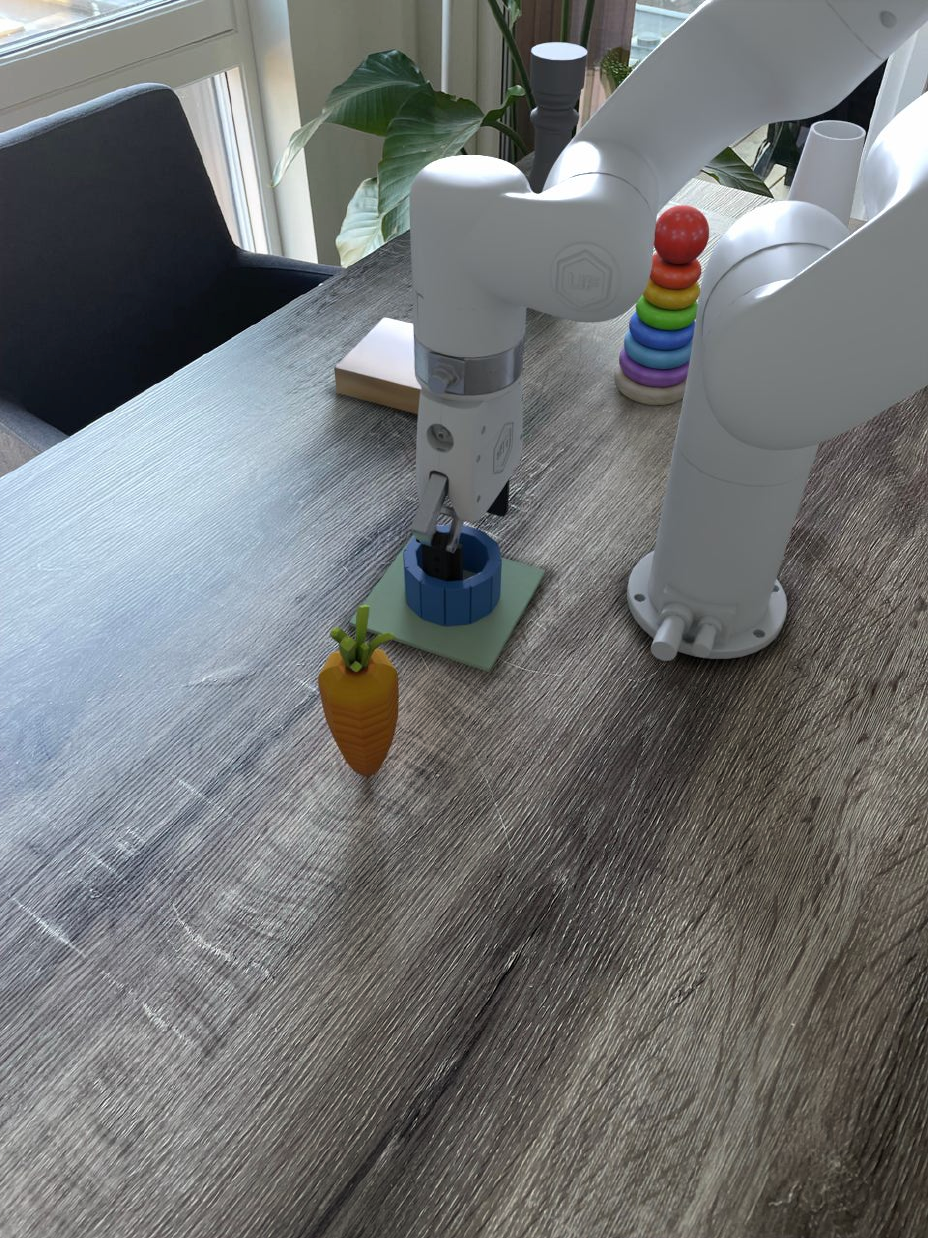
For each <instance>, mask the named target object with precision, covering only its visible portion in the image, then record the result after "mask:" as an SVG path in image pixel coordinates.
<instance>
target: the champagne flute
mask: <svg viewBox="0 0 928 1238" xmlns="http://www.w3.org/2000/svg"><path fill="white" fill-rule="evenodd" d="M866 135H867V132H866V130H865V128H863V127H862V126H860V125H858V124H855V123H852V122H848V121H844V120H843V121H842V120H834V119H833V120H831V119H829V120H827V119H826V120H822V121H821V120H820V121H816V122H814V123H812V124H811V126H810V129H809V132H808V135H807V138H806V141H805V143H804V146H803V150H802V151H801V155H800V158H799V161H798V165H797V167H796V171H795V174H794V176H793V180H792V183H791V185H790V189H789V191H788V195H787V197H786V200H785V201H801V202H807V203H810V204H814V205H817V206H819V207H821V208H823V209H825V210H827V211H828V212H830V213H831V214H833V215H834V216H835V217H836V218H838V219H839V220H840V221H841V222H842V223H843V224H844V225H845V227H846V228H847V229H848V230H849V225H850V221H851V220H850V219H851V215H852V209H853V203H854V197H855V192H856V187H857V183H858V177H859V172H860V166H861V161H862V156H863V151H864V145H865V139H866Z"/></svg>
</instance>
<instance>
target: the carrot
mask: <svg viewBox="0 0 928 1238" xmlns="http://www.w3.org/2000/svg"><path fill="white" fill-rule="evenodd" d="M361 605H362V604H361ZM361 605H358V606H357V610H356V612H357V616H356V628H355V637H354V638H352V637H351V636H349V635H348V634H347V633H346V631H344V630H343V629H342V628H341V627H339V626H336V627H333V628H332V629H331V630H330V633H329V637H330V638H332V640H334V641H335V642H337V643H338V650H337V651H334V652H331V653H330V654H329V655H328V658H326V661H325V663H324V665H323V666H322V669H320V670H321V671H320V672H319V673H318V676H317V677H318V678H317V683H318V684H317V685H318V690H319V697H320V700H321V701H320V702H321V705H322V709H323V713H324V714H323V715H324V718H325V721H326V725H327V726H328V729H329V731H330V734H331V736H332V737H333V741H334V742H335V744H336V747H337V749H338V750H339V751H340V753H341V756H342V757H343V759H344V761H345V762H346V764H347V765H348V766H349V767H350V768H351V770H353V771H354V772H355V773H357V774H358V775H360V776H362V777H365V778H369V777H372V776H374V775H376V774H377V773H378V771H380V769H381V768H382V766H383V764H384V762H385V761H386V758H387V756H388V754H389V752H390V750H391V747H392V744H393V742H394V737H395V734H396V729H397V725H398V721H399V711H400V709H399V707H400V686H399V685H400V683H399V682H400V681H399V673H398V671H397V670H396V668H395V666H394V665H393V663H392V661H391V660H390V659H389V657H388V655H387V653H386V652H385V651H384V649H380V648H379V647H380V646H381V645H383V644H384V643H388V642H390V641H394V640H393V639H395V638H396V637H395V636H394V634H393V633H392V632H387V633H383V634H381V635H376V636H375V637H374V638H373V639H372V640H371V641H370V642H369V643H366V637H367V624H368V618H369V606H368V605H362V606H361ZM354 639H355V640H354Z"/></svg>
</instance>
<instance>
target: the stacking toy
mask: <svg viewBox="0 0 928 1238" xmlns="http://www.w3.org/2000/svg"><path fill="white" fill-rule="evenodd" d="M709 239H710V226H709V223H708V220H707V218H706V216H705V215H704V214H703V213H702V212H701V210H700V209H698V208H696V207H694V206H691V205H687V204H681V205H675V206H672V207H670V208H668V209H666V210H665V211H664V212H662V213H661V214H660V216H659V217H657V219H656V228H655V240H654V250H655V252H656V253H653V260H652V268H651V273H650V277H649V280H648V283H647V286H646V289H645V290H644V292H643V294H642V296H641V297H640V299H639V300H638V301H637V303H636V304H635V311H634V313H632V315H631V317H630V319H629V321H628V330H627V331H626V333H625V334H624V338H623V347H622V348H621V350H620V353H619V356H618V364H617V366H616V367H615V370H614V374H613V380H614V383H615V386H616V388H617V389H618V391H619V392H620V393H621V394H622V395H624V396H625V397H627V398H628V399H630V400H631V401H635V402H637V403H641V404H644V405H649V406H650V405H651V406H664V405H669V404H673V403H676V402H679V401H680V400H683V398H684V393H685V387H686V381H687V375H688V369H689V363H690V356H691V349H692V343H693V336H694V329H695V322H696V314H697V306H698V299H699V294H700V288H701V285H700V284H699V282H698V281H699V280H700V277H701V276H702V265H701V263H700V261H699V260H698V259H697V258H699V257H700V256H701V255H702V254H703V252H704V251H705V249H706V247H707V245H708V242H709Z"/></svg>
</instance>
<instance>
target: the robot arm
mask: <svg viewBox="0 0 928 1238" xmlns="http://www.w3.org/2000/svg"><path fill="white" fill-rule="evenodd" d="M927 22H928V0H705V1H703V2H702V3H701V4H700V5H699V6H698V7H697V8H696V9H695V10H694V11H693V12H692V13H691V14H690V15H689V17H688V18H687V19H685V21H684V22H683V23H681V24H680V25H679V26H678V27H677V28H676V29H675V30H674V31H672V32H671V33H670V34H669V35H668V36H667V37H665V39H664V40H662V41H661V42H660V43H659V44H658V45H657V46H656V47H655V48H654V49H653V50H652V51H651V52H650V53H649V54H648V55H647V56H646V57H644V59H642V61H641V62H640V63H639V64H638V65H636V67H635V68H634V69H633V70H632V71H631V72H630V74H629V75H627V77H626V78H625V79H623V81H622V82H621V83H620V84H619V86H617V88H616V89H614V91H613V92H612V94H611V95H610V96H608V98H607V99H606V100H605V101H604V102H603V104H602V105H601V106H600V107H599V108H598V109H597V110H596V111H595V112H594V114H593V115H592V116H591V117H590V118H589V119H588V120H587V121H586V123H585V124H584V125H583V126H582V127H581V128H580V129H579V131H577V133H576V134H574V137H573V138H571V141H570V143H569V144H568V145H567V146H566V148H565V149H564V150H563V151H562V153H561V154H560V156H559V157H558V159H557V160H556V162H555V163H554V165H553V167H552V169H551V171H550V173H549V175H548V177H547V180H546V182H545V185H544V188H543V191H542V193H541V194H535V193H533V192H532V191H531V188H530V185H529V182H528V178H527V177H526V176H525V174H524V173H523V171H521V170H520V169H519V168H518V167H517V166H515V165H513V164H512V163H511V162H508V161H505V160H503V159H500V158H496V157H492V156H485V155H475V154H474V155H473V154H472V155H470V154H469V155H467V154H466V155H455V156H449V157H445V158H439V159H437V160H435V161H433V162H430V163H429V164H427V165H425V166H424V167H423V168H422V169H420V170H419V172H418V173H417V174H416V175H415V177H414V179H413V181H412V183H411V186H410V190H409V208H408V211H409V236H410V237H409V238H410V239H409V240H410V241H409V242H410V264H411V265H410V268H411V269H410V270H411V271H410V272H411V273H410V274H411V297H412V300H411V302H412V324H413V328H414V329H413V332H414V362H415V377H416V380H417V382H418V383H419V384H420V386H421V391H420V399H419V410H418V414H417V423H416V425H417V426H416V444H415V445H416V446H415V448H416V449H415V482H416V494H417V500H418V503H419V505H418V508H417V510H416V512H415V515H414V517H413V519H412V522H411V525H410V532H411V533H412V536H413V535H414V536H415V538H416V542H418V543H421V544H422V567H423V571H424V572H425V573H426V574H427V575H428V576H431V577H434V578H438V579H441V580H444V581H459V580H463V545H461V544H460V543H458V542H459V538H460V534H461V530H462V527H463V525H464V522H467V523H469V524H474V523H476V522H477V521H480V520H481V519H482V518H483V517H484V516H485V514H489V515H493V516H496V517H501V518H503V517H506V515H507V514H508V512H509V501H510V500H509V499H510V479H511V477H512V475H513V473H514V471H515V470H516V469H517V467H518V465H519V463H520V461H521V458H522V455H523V444H524V387H523V373H524V357H525V356H524V355H525V338H526V337H525V336H526V323H527V321H526V320H527V309H530V310H534V311H537V312H539V313H543V314H546V315H549V316H553V317H557V318H560V319H562V320H568V321H571V322H577V323H578V322H579V323H593V324H594V323H602V322H607V321H611V320H614V319H616V318H618V317H620V316H622V315H624V314H626V313H627V312H629V310H631V309H632V308H633V307H634V306H636V303H637V301H638V300H639V299H640V297H641V296H642V294H643V292H644V290H645V289H646V286H647V283H648V280H649V277H650V273H651V268H652V260H653V255H654V250H655V247H654V240H655V228H656V222H657V220H658V217H657V216H658V214H659V213H660V212H661V211H662V209H663V208H664V207H665V206H667V204H668V203H669V202H670V201H671V200H673V198H674V197H675V196H676V195H677V194H678V193H679V192H680V191H681V190H682V189H683V188H684V187H685V186H686V185H687V184H688V183H689V182H690V181H691V180H692V179H693V178H694V177H696V175H698V173H700V172H701V171H702V170H703V169H704V168H705V167H706V166H707V165H708V164H709V163H710V162H711V161H713V159H715V158H716V157H717V156H718V155H720V154H721V153H722V152H723V151H725V149H727V148H728V147H729V146H731V145H732V144H734V143H735V142H736V141H738V140H739V139H741V138H743V137H745V136H746V135H747V134H749V133H751V132H753V131H755V130H757V129H759V128H762V127H764V126H766V125H767V126H768V125H770V124H774V123H778V122H786V121H798V120H799V121H800V120H805V119H809V118H813V117H816V116H817V117H818V116H819V115H822V114H824V113H826V112H829V111H831V110H832V109H834V108H835V107H837V106H838V105H840V104H841V102H842V101H843V100H845V99H846V98H847V97H848V96H850V94H851V93H853V91H854V90H855V89H856V88H857V87H858V86H859V85H861V83H863V82H864V81H865V80H866V79H867V78H868V77H869V76H871V74H872V73H874V71H876V70H877V69H878V68H879V67H880V66H881V65H882V64H883V63H884V62H885V61H886V60H888V58H889V57H891V56H892V55H893V54H894V53H895V52H896V51H897V50H898V49H899V48H900V47H901V46H902V45H903V44H904V43H906V41H908V40H909V39H910V38H911V37H912V36H913V35H914V34H915V33H916V32H917V31H918V30H920V28H922V27H923V26H924V25H925V24H926V23H927ZM862 199H863V206H864V211H865V215H866V219H867V222H866V223H865V224H863V226H861V227H860V228H859V229H857V230H856V231H855V232H853V233H851V232H850V230H849V228H848V229H847V228H846V227H845V225H844V224H843V223H842V222H841V221H840V220H839V219H838V218H836V217H835V216H834V215H833V214H831V213H830V212H828V211H827V210H825V209H823V208H821V207H819V206H817V205H814V204H810V203H807V202H801V201H786V200H781V201H774V202H771V203H766V204H764V205H762V206H761V205H760V207H757V208H755V209H753V210H751V211H749V212H747V213H746V214H745V215H743V216H742V217H740V218H739V219H738V220H737V221H735V222H734V223H733V224H732V225H731V226H730V227H729V228H728V229H727V230H726V231H725V232H724V233H723V234H722V236H721V237H720V238H719V240H718V241H717V243H716V245H715V247H714V248H713V250H712V251H711V254H710V256H709V259H708V260H707V263H706V265H705V269H704V271H703V275H702V279H701V283H700V294H699V297H698V299H697V303H698V306H697V314H696V319H695V329H694V336H693V343H692V349H691V356H690V363H689V369H688V375H687V381H686V387H685V393H684V397H683V398H682V405H681V409H680V415H679V420H678V425H677V426H678V427H677V430H676V435H675V438H674V444H673V450H672V456H671V460H670V466H669V469H668V470H669V471H668V477H667V480H666V486H665V491H664V492H665V493H664V497H663V502H662V507H661V513H660V518H659V522H658V529H657V534H656V539H655V545H654V549H653V550H652V551H650V552H648V553H647V554H646V555H644V557H642V558H641V559H640V560H639V561H638V562H637V563H636V564H635V566H634V567H633V569H632V570H631V573H630V575H629V578H628V583H627V587H626V590H627V591H626V600H627V604H628V605H627V606H628V609H629V611H630V613H631V615H632V617H633V618H634V621H635V622H636V623H637V624H638V625H639V626H640V628H641V629H642V630H643V631H644V632H645V633H646V634H648V635H649V636H650V637H651V638H652V639H653V641H652V643H651V645H650V652H651V654H652V655H653V656H654V657H655V658H656V659H658V660H661V661H663V662H664V661H665V662H670V661H672V660H674V659H675V658H676V656H677V654H678V652H679V653H681V654H685V655H688V656H692V657H697V658H701V659H702V658H703V659H711V660H720V659H721V660H729V659H735V658H741V657H742V658H743V657H745V656H749V655H751V654H754V653H757V652H759V651H760V650H763V649H764V648H766V647H768V645H770V644H771V643H772V642H773V641H774V640H776V638H777V637H778V636H779V634H780V632H781V631H782V629H783V626H784V624H785V621H786V618H787V612H788V600H787V595H786V592H785V590H784V588H783V585H782V584H781V583H780V581H779V580H778V575H779V572H780V569H781V566H782V563H783V560H784V557H785V554H786V550H787V547H788V543H789V539H790V537H791V535H792V531H793V527H794V525H795V521H796V519H797V515H798V512H799V509H800V505H801V503H802V499H803V496H804V493H805V490H806V486H807V483H808V480H809V477H810V474H811V471H812V467H813V465H814V463H815V459H816V456H817V453H818V450H819V447H820V445H821V444H822V443H824V442H826V441H829V440H832V439H835V438H837V437H839V436H841V435H844V434H845V433H847V432H850V431H851V430H853V429H855V428H857V427H859V426H861V425H862V424H864V423H866V422H868V421H869V420H871V419H873V418H874V417H876V416H878V415H879V414H882V413H883V412H885V411H887V410H888V409H890V408H892V407H893V406H896V405H897V404H898V403H900V402H903V401H904V400H906V399H907V398H909V397H910V396H912V395H914V394H916V393H918V392H919V391H921V390H922V389H925V388H926V387H927V386H928V91H926V92H924V93H923V94H922V95H921V96H920V97H918V98H916V99H915V100H914V101H913V102H911V103H910V104H909V105H908V106H906V107H905V108H904V109H903V110H901V111H900V112H899V113H897V115H896V116H895V117H894V118H892V120H891V121H890V122H889V123H888V124H887V125H886V126H885V127H884V128H883V129H882V130H881V131H880V133H879V134H878V135H877V137H876V139H875V140H874V142H873V143H872V145H871V147H870V149H869V151H868V155H867V156H866V159H865V163H864V167H863V171H862ZM446 498H448V499H449V501H450V504H451V506H449V505H446V504H444V503H445V501H446ZM440 515H443V516H447V517H450V518H452V519H451V523H450V525H451V527H450V531H449V535H448V534H445V533H442V532H439V531H437V526H438V525H437V521H438V519H439V516H440Z"/></svg>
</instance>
